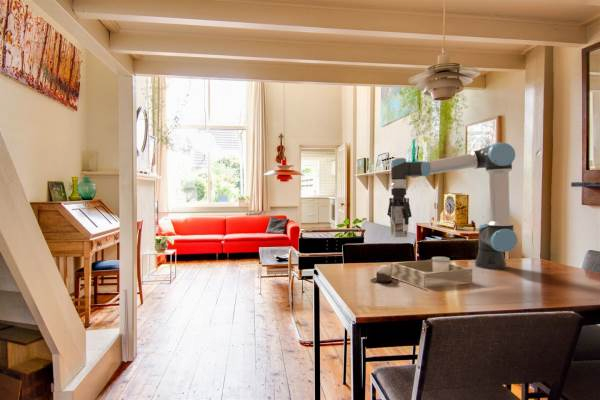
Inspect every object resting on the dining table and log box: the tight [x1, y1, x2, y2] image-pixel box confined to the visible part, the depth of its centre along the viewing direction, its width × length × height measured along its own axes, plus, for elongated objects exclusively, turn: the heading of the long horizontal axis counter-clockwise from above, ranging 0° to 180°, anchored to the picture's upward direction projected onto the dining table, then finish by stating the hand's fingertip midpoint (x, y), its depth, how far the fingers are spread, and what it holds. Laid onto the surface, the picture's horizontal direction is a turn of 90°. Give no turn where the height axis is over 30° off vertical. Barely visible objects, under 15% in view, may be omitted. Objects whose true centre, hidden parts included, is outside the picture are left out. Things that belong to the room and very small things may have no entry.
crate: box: [390, 259, 473, 291], centre depth 166 cm, size 24×24×7 cm
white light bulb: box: [431, 256, 451, 272], centre depth 168 cm, size 8×8×9 cm
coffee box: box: [390, 206, 408, 238], centre depth 194 cm, size 9×6×16 cm
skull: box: [370, 264, 400, 286], centre depth 166 cm, size 12×10×10 cm
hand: (399, 230), depth 194 cm, fingers closed on coffee box, 10 cm apart
